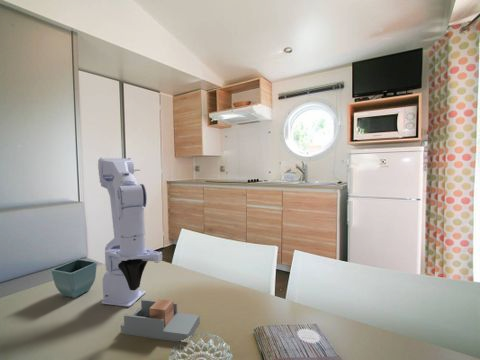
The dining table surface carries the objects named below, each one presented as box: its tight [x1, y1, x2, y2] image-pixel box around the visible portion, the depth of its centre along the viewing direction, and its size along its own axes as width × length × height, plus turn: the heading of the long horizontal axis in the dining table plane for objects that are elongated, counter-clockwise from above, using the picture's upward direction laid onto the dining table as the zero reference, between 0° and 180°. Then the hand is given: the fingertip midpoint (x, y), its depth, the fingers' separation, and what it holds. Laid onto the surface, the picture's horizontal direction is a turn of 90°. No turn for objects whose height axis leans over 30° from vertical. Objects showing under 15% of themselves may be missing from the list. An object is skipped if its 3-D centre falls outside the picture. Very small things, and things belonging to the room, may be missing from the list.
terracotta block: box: [150, 298, 174, 327], centre depth 58 cm, size 4×4×4 cm
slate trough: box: [120, 299, 201, 343], centre depth 58 cm, size 17×7×4 cm, turn 78°
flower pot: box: [51, 259, 98, 299], centre depth 76 cm, size 9×9×9 cm
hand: (134, 288), depth 59 cm, fingers closed
